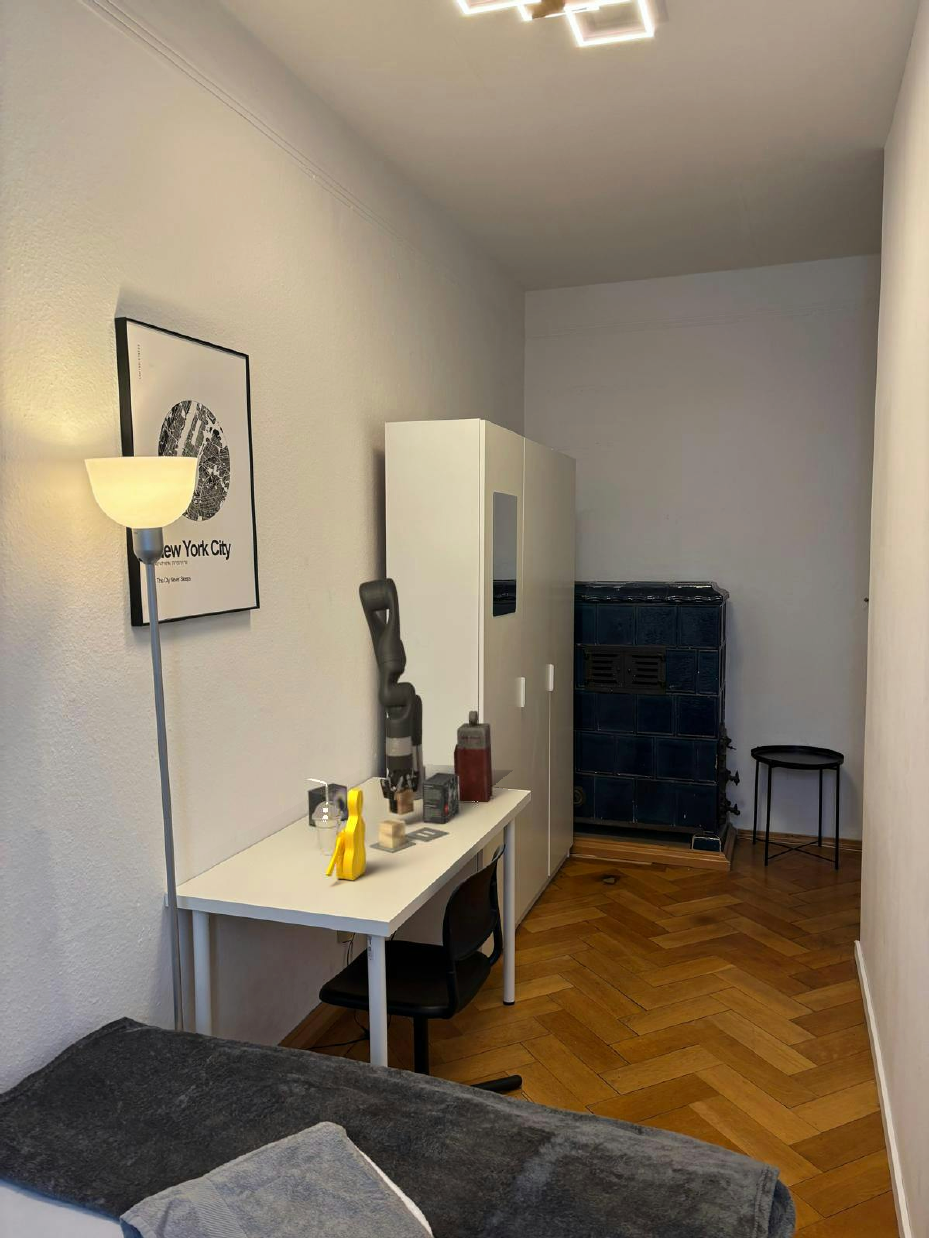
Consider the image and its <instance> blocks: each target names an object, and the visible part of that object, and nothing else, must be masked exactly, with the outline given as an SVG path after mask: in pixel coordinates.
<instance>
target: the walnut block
mask: <svg viewBox="0 0 929 1238" xmlns="http://www.w3.org/2000/svg"><path fill="white" fill-rule="evenodd" d="M393 795H394V792H393ZM397 803H398V812H397V813H393V812H391V810H390V800H389V799H388V812H389V813H391V814H396V815H400V816H403V815H405V814H409V813H413V812H414V810H415V806H414V804H415V803H414V800H413V791H412V790H407V789H402V788H400V792H399V793H398V794H397Z"/></svg>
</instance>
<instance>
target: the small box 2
mask: <svg viewBox="0 0 929 1238" xmlns="http://www.w3.org/2000/svg"><path fill="white" fill-rule="evenodd" d="M422 787H423V797H422V823H426V824H427V823H428V824H440V825H445V824H446V823H448V822H449V821H450V820H451V819H452V818H453V817H455V816H456V815H455V814H458V813H459V812H460V811H459V776H458V774H454V773H447V772H446V773H445V772H437V773H435V774H434V775H432V776H431V777H429V778H428V779H427V778H426V781H424V782H423V783H422ZM450 818H451V819H450ZM449 819H450V820H449Z"/></svg>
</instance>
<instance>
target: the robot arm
mask: <svg viewBox="0 0 929 1238" xmlns="http://www.w3.org/2000/svg"><path fill="white" fill-rule="evenodd" d="M358 594H359V595H358V596H359V600H360V604H361V607H362V610H363V614H364V617H365V619H366V622H367V626H368V629H369V633H370V638H371V644H372V648H373V653H374V657H375V661H376V664H377V668H378V672H379V676H380V678H379V679H380V681H379V689H378V698H377V699H378V702H379V703H380V705H381V707H383V708H385V709H386V713H387V717H386V719H385V759H386V761H385V763H386V769H387V770H388V773H387V777H385V778H380V780H379V783H380V787H381V791H382V796H383V798H384V799H386V800H388V801H389V800H390V810H391V812H393V813H392V814H394V813H397V812H398V803H397V794H398V793H399V792H400V788H402V789H407V790H412V791H413V801H415V800H419V799H423V787H422V783H423V782H424V781H426V780H427V775H426V774H427V773H426V772H427V771H426V770H427V769H426V766H425V765H424V755H423V752H424V751H423V699H422V698H421V696H420V695H419V694H417V693H416V688H415V687H414V685H413V683H411V682H409V681H401V682H400V678H401V677H402V675H404V673H405V670H406V666H407V654H406V650H405V647H404V642H403V641H402V639H401V620H400V618H401V617H400V605H399V604H400V603H399V595H398V589H397V585H396V583H395V581H394V579H393V578H392V577H385V578H379V579H374V580H370V581H364V582H362V583H360V585H359V587H358ZM387 610H388V620H387V623H386V624H385V623H384V622H383V621H382V620H381V618H380V617H379V615H378V613H377V612H382V611H387ZM393 792H394V795H393Z"/></svg>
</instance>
